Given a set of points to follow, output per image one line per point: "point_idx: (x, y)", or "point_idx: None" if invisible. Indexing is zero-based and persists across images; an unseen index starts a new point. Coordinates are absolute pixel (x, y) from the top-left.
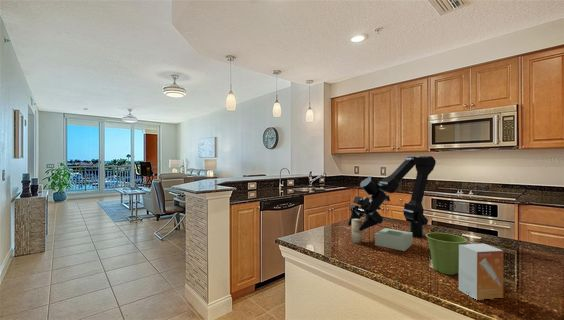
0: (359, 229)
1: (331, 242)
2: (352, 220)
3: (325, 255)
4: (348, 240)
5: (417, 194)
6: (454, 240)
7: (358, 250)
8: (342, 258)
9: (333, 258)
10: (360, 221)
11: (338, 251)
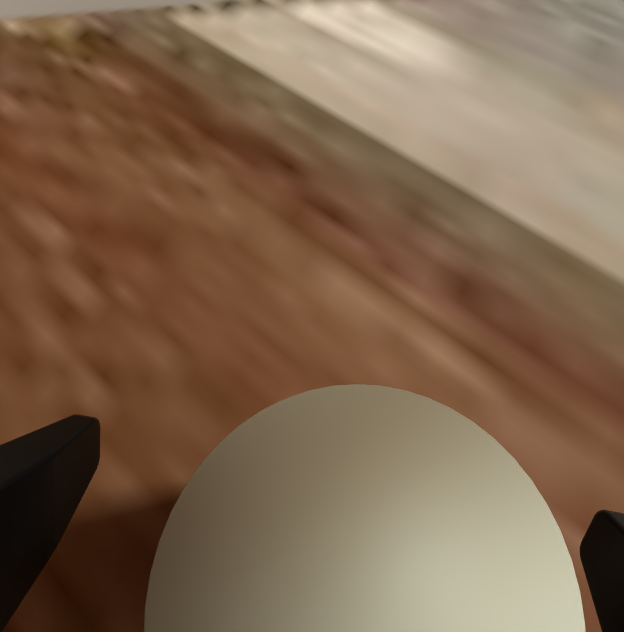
0: (80, 417)
1: (428, 247)
2: (376, 387)
3: (149, 18)
4: None
5: None
6: None
7: (47, 321)
8: (7, 70)
9: (58, 24)
10: (154, 618)
11: (159, 141)
